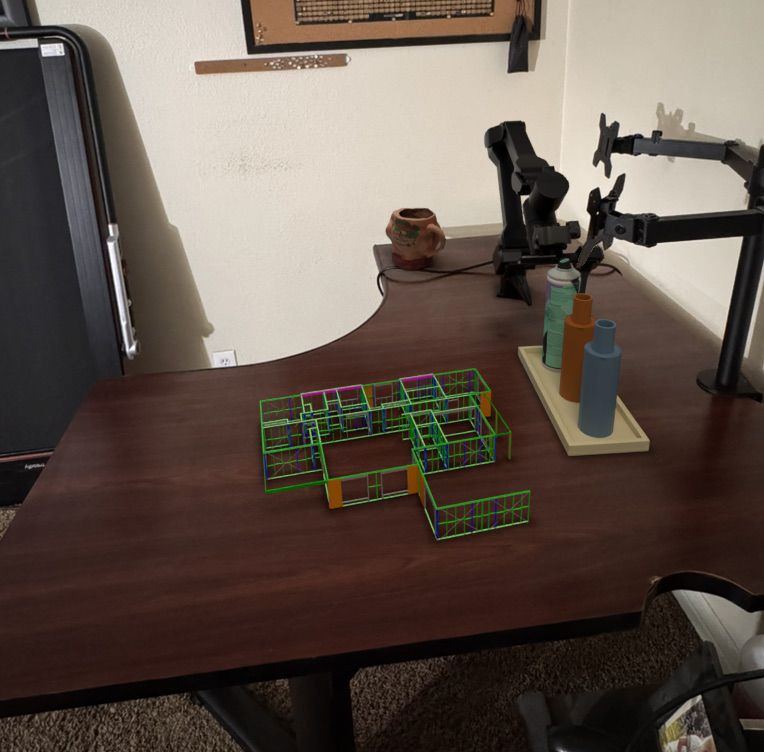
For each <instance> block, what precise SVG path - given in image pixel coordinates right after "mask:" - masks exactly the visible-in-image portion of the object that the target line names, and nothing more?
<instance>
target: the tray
mask: <svg viewBox="0 0 764 752" xmlns="http://www.w3.org/2000/svg"><path fill="white" fill-rule="evenodd" d="M542 351H543V345H527V346H526V345H525V346H518V347H517V356H518V358H519V360H520V363H521V365H522V367H523V369H524V370H525V372H526V375H527V377H528V378H529V380H530V382H531V384H532V386H533V388H534V391H535V393H536V395H537V396H538V398H539V400H540V403H541V405H542V407H543V408H544V410H545V413H546V414H547V416H548V419H549V420H550V422H551V424H552V426H553V428H554V430H555V432H556V434H557V436H558V438H559V440H560V442H561V444H562V447H563V448H564V450H565V452H566V454H567V456H568V457H573V456H574V457H575V456H590V455H591V456H592V455H605V454H606V455H607V454H622V453H637V452H638V453H639V452H649V450H650V443H651V441H650V439H649V437H648V435H646V433H645V432H644V430H643V429H642V428H641V426H640V424H639V423H638V422H637V420H636V419H635V418H634V416H633V414H632V413H631V411H630V410H629V409H628V408H627V407H626V405H625V403H624V402H623V401H622V399H621V398H620V397H619V395H618V394H617V401H616V410H615V419H614V428H613V433H612V434H611V435H610V436H608V437H605V438H595V437H590V436H588V435H585V434H584V433H582V432H581V431H580V430H579V428H578V417H579V405H580V403H575V402H570V401H567V400H565V399H563V398H562V397H561V396H560V394H559V389H560V375H561V373H557V372H552V371H549V370H547V369H545V368H544V367H543V365H542Z"/></svg>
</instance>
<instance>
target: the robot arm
mask: <svg viewBox="0 0 764 752" xmlns="http://www.w3.org/2000/svg"><path fill="white" fill-rule="evenodd" d="M526 126H527V125H526V122H525V121H524V120H523V121H522V120H521V119H520V120H504V121H503V122H500V123H499V124H498V125H495V126H492V127H489V128H488V129H487V130H486V131H485V132H484V136H483V143H484V148H485V149H486V151H487V156H488V159H489V160H490V161H491V162H492V164H493V165H494V166H495V167H496V174H497V180H498V181H497V183H498V192H499V201H500V210H501V211H500V212H501V220H502V230H501V232H500V234H499V235H498V238H497V244H496V246H495V248H494V251H493V253H492V265H493V267H494V274H495V275H497V276H499V285H498V288H497V291H496V297H500V298H509V299H510V298H512V299H521V300H523V301H524V302H525V304H526V305H527V307H529V308H530V307H532V306H533V305H532V304H533V302H532V295H531V291H530V288H529V284H528V279H527V271H528V270H531V271H532V270H533V271H534V270H536V266H550V265H551V266H553V265H558V264H559V260H560V259H561V258H568V259H570V264H571V265H572V266H573V269H575V270H577V271H579V272H580V278H581V283H580V293H584V294H586V291H587V290H586V289H587V285H588V278H589V275H590V273H591V272H592V271H593V270H596V269H598V266H599V265H600V264H602V262H603V260H604V259H605V257H606V256H605V253H604V249H603V248H602V247H601V246H600V245H599V244H596V245H597V246H595V247H594V248H593V250H592V252H591V253H590V255H589V257H588V259H587V261H586V263H585V264H584V265H583V266H581V267H580V268H577V263H578V258H579V255H580V253H581V250H582V248H583V246H584V245H579V246H578V247H577V249H576V250H575V251H574V252H564V251H566V250H567V249H568V245H571V244H572V240H579V239H581V237H582V231H581V225H580V221H579V220H568V221H565V225H561V224H560V222H558V220H557V219H558V218H557V214H556V212H557V210H559V208H560V206H562V205H561V204H562V203H563V201H564V199H565V197H566V196H567V194H568V192H569V190H570V181H569V180H568V179H567V177H566V176H565V175H564V174H563V173H561V172H559V171H557V170H556V168H555V166H554V165H550V164H549V163H548V161H547V160H546V159H545V158H542V157H540V156H538V155H537V153H536V151H535V148H534V147H533V144H532V142H531V139H530V137H529V135H528V132H527V127H526ZM525 196H528V197H527V198H526V199H525V200H523V203H522V197H525Z"/></svg>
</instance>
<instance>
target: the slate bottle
mask: <svg viewBox="0 0 764 752" xmlns="http://www.w3.org/2000/svg"><path fill="white" fill-rule="evenodd" d="M616 332H617V323H616V322H615V321H613V320H611V319H606V318H599V319H597V321H595V327H594V338H593V341H590V342H588V343H587V344H586V345H585V348H584V359H583V371H582V382H581V394H580V405H579V417H578V428H579V430H580V431H581V432H582V433H584V434H585V435H588V436H590V437H595V438H605V437H608V436H610V435H611V434H612V433H613V428H614V419H615V410H616V401H617V395H618V391H619V381H620V373H621V364H622V355H623V349H622V348H621V347H620V346H619V345H618V344H617V343H615V341H616Z"/></svg>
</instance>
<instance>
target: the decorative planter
mask: <svg viewBox="0 0 764 752" xmlns="http://www.w3.org/2000/svg"><path fill="white" fill-rule="evenodd" d="M437 218H438V217H437V215H436V213H435V211H433V210H431V209H430V208H428V207H427V208H426V207H401V208H398V209H395V210H393V212H392V213H391V214H390V219H389V221H388V223H387V225H386V227H385V232H384V233H385V235H386V237H387V238H388V239H389V240H390V242H391V258H392V259H391V260H392V262H393V264H394V265H395V266H396V267H397V268H399V269H401V270H405V271H416V270H421V269H424V268H427V267H428V266H430V265H431V264H432V262H433V259H434V256H436V255H437V254H438V253H439V252H441V251H442V250H444V249H445V246H446V244H447V243H446V242H447V238H446V235H445V233H444V231H443V230H442V227H441V225H440V223H439V222H438V219H437ZM438 245H439V248H437V247H438Z"/></svg>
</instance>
